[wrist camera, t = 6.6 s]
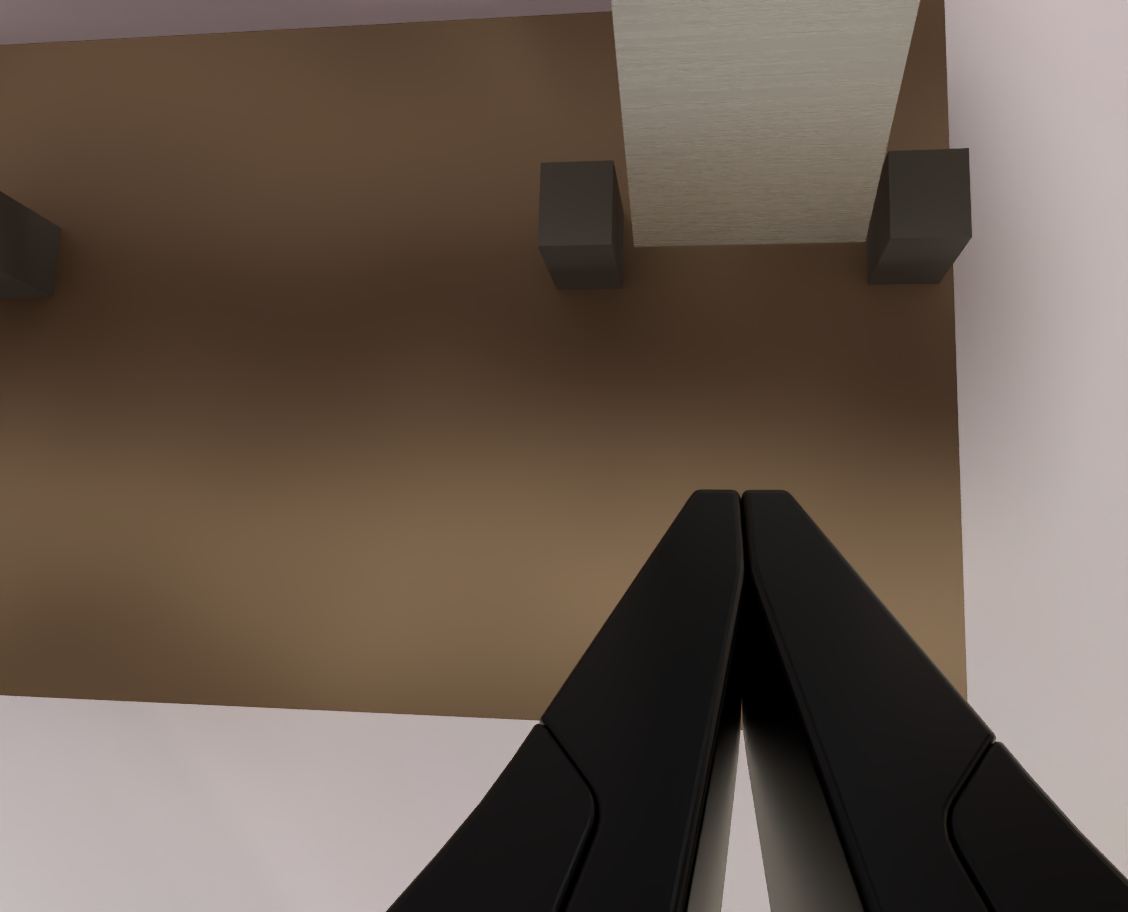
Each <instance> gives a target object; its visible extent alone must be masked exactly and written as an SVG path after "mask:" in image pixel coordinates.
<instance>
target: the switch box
mask: <svg viewBox="0 0 1128 912" xmlns="http://www.w3.org/2000/svg"><path fill="white" fill-rule="evenodd" d="M971 237H972V226H971V198H970V170H969V148H962V149H949V129H948V99H947V68H946V37H945V7H944V0H920V3H919V7H918V12H917V16H916V21H915V25H914V29H913V34H912V38H911V43H910V47H909V51H908V56H907V60H906V65H905V69H904V73H903V78H902V82H901V87H900V91H899V95H898V100H897V104H896V109H895V113H894V117H893V122H892V126H891V131H890V135H889V139H888V144H887V148H886V153H885V157H884V161H883V166H882V170H881V175H880V179H879V183H878V188H877V192H876V197H875V201H874V206H873V210H872V214H871V219H870V223H869V228H868V232H867V236H866V241H865V242H847V243H800V244H752V245H705V246H658V247H634V241H633V230H632V219H631V209H630V198H629V187H628V177H627V166H626V155H625V144H624V134H623V123H622V112H621V102H620V91H619V80H618V70H617V59H616V48H615V37H614V27H613V16H612V12H595V13H577V14H559V15H541V16H522V17H504V18H486V19H468V20H450V21H431V22H413V23H395V24H377V25H359V26H340V27H322V28H304V29H286V30H268V31H249V32H231V33H213V34H195V35H177V36H158V37H140V38H122V39H104V40H86V41H67V42H49V43H31V44H13V45H0V695H9V696H30V697H51V698H73V699H94V700H115V701H137V702H158V703H179V704H201V705H222V706H244V707H265V708H286V709H308V710H329V711H350V712H372V713H393V714H414V715H436V716H457V717H478V718H500V719H521V720H540V718H541V716H542V715H543V713H544V712H545V710H546V709H547V707H548V706H549V704H550V703H551V701H552V700H553V698H554V697H555V695H556V694H557V692H558V691H559V689H560V688H561V687H562V685H563V684H564V682H565V681H566V679H567V678H568V676H569V675H570V673H571V672H572V670H573V669H574V667H575V666H576V664H577V663H578V661H579V660H580V658H581V657H582V655H583V654H584V653H585V651H586V650H587V648H588V647H589V645H590V644H591V642H592V641H593V639H594V638H595V636H596V635H597V633H598V632H599V630H600V629H601V627H602V626H603V624H604V623H605V621H606V620H607V618H608V617H609V616H610V614H611V613H612V611H613V610H614V608H615V607H616V605H617V604H618V602H619V601H620V599H621V598H622V596H623V595H624V593H625V592H626V590H627V589H628V587H629V586H630V584H631V583H632V582H633V580H634V579H635V577H636V576H637V574H638V573H639V571H640V570H641V568H642V567H643V565H644V564H645V562H646V561H647V559H648V558H649V556H650V555H651V553H652V552H653V550H654V549H655V548H656V546H657V545H658V543H659V542H660V540H661V539H662V537H663V536H664V534H665V533H666V531H667V530H668V528H669V527H670V525H671V524H672V522H673V521H674V519H675V518H676V516H677V515H678V513H679V512H680V511H681V509H682V508H683V506H684V505H685V503H686V502H687V500H688V499H689V497H690V496H691V495H692V493H693V492H694V491H696V490H700V489H727V490H735V491H737V492H738V493H739V494H740V497H741V496H742V494H743V492H745V491H746V490H785V491H787V492H789V493H790V494H791V495H792V496H793V497H794V498H795V500H796V501H797V502H798V503H799V504H800V505H801V507H802V508H803V509H804V510H805V511H806V512H807V514H808V515H809V516H810V517H811V518H812V520H813V521H814V522H815V523H816V524H817V525H818V527H819V528H820V529H821V530H822V531H823V533H824V534H825V535H826V536H827V537H828V538H829V540H830V541H831V542H832V543H833V544H834V545H835V547H836V548H837V549H838V550H839V551H840V553H841V554H842V555H843V556H844V557H845V558H846V560H847V561H848V562H849V563H850V564H851V566H852V567H853V568H854V569H855V570H856V571H857V573H858V574H859V575H860V576H861V577H862V578H863V580H864V581H865V582H866V583H867V584H868V586H869V587H870V588H871V589H872V590H873V591H874V593H875V594H876V595H877V596H878V597H879V599H880V600H881V601H882V602H883V603H884V604H885V606H886V607H887V608H888V609H889V610H890V611H891V613H892V614H893V615H894V616H895V617H896V619H897V620H898V621H899V622H900V623H901V624H902V626H903V627H904V628H905V629H906V630H907V632H908V633H909V634H910V635H911V636H912V637H913V639H914V640H915V641H916V642H917V643H918V645H919V646H920V647H921V648H922V649H923V650H924V652H925V653H926V654H927V655H928V656H929V657H930V659H931V660H932V661H933V662H934V663H935V665H936V666H937V667H938V668H939V669H940V670H941V672H942V673H943V674H944V675H945V676H946V678H947V679H948V680H949V681H950V682H951V683H952V685H953V686H954V687H955V688H956V689H957V690H958V692H959V693H960V694H961V695H962V696H963V698H964V699H965V700H966V701H967V679H966V648H965V618H964V587H963V556H962V526H961V495H960V465H959V434H958V404H957V373H956V343H955V312H954V282H953V263H954V262H955V260H956V259H957V257H958V256H959V255H960V253H961V252H962V250H963V249H964V247H965V246H966V244H967V243H968V242H969V240H970V239H971ZM740 730H743V722H742V705H741V729H740Z"/></svg>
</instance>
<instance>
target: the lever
mask: <svg viewBox="0 0 1128 912" xmlns="http://www.w3.org/2000/svg"><path fill="white" fill-rule="evenodd" d="M919 3H920V0H611V5H612V16H613V27H614V37H615V48H616V59H617V70H618V80H619V91H620V102H621V112H622V123H623V134H624V144H625V155H626V166H627V177H628V187H629V198H630V209H631V219H632V230H633V241H634V247H658V246H705V245H752V244H800V243H847V242H865V241H866V236H867V232H868V228H869V223H870V219H871V214H872V210H873V206H874V201H875V197H876V192H877V188H878V183H879V179H880V175H881V170H882V166H883V161H884V157H885V153H886V148H887V144H888V139H889V135H890V131H891V126H892V122H893V117H894V113H895V109H896V104H897V100H898V95H899V91H900V87H901V82H902V78H903V73H904V69H905V65H906V60H907V56H908V51H909V47H910V43H911V38H912V34H913V29H914V25H915V21H916V16H917V12H918V7H919Z"/></svg>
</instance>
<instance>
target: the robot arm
mask: <svg viewBox="0 0 1128 912" xmlns="http://www.w3.org/2000/svg"><path fill="white" fill-rule="evenodd" d="M741 705H742V722H743V733H744V741H745V749H746V756H747V762H748V769H749V775H750V781H751V788H752V794H753V801H754V807H755V813H756V820H757V826H758V832H759V839H760V845H761V851H762V858H763V864H764V870H765V877H766V883H767V889H768V896H769V902H770V909H771V912H1128V879H1127V878H1126V877H1125V876H1124V875H1123V874H1122V873H1121V872H1120V871H1119V870H1118V869H1117V868H1116V867H1115V866H1114V865H1113V864H1112V863H1111V862H1110V861H1109V860H1108V859H1107V858H1106V857H1105V856H1104V855H1103V854H1102V853H1101V852H1100V851H1099V850H1098V849H1097V848H1096V847H1095V846H1094V845H1093V844H1092V843H1091V842H1090V841H1089V840H1088V839H1087V838H1086V837H1085V836H1084V835H1083V834H1082V833H1081V832H1080V831H1079V830H1078V828H1077V827H1076V826H1075V825H1074V824H1073V823H1072V822H1071V821H1070V820H1069V818H1068V817H1067V816H1066V815H1065V814H1064V813H1063V812H1062V811H1061V810H1060V808H1059V807H1058V806H1057V805H1056V804H1055V803H1054V802H1053V801H1052V800H1051V798H1050V797H1049V796H1048V795H1047V794H1046V793H1045V792H1044V791H1043V789H1042V788H1041V787H1040V786H1039V785H1038V784H1037V783H1036V782H1035V781H1034V779H1033V778H1032V777H1031V776H1030V775H1029V774H1028V773H1027V771H1026V770H1025V769H1024V768H1023V767H1022V765H1021V764H1020V763H1019V762H1018V761H1017V760H1016V758H1015V757H1014V756H1013V755H1012V754H1011V752H1010V751H1009V750H1008V749H1007V748H1006V746H1005V745H1004V744H1003V743H1001V742H995V741H996V736H995V734H994V733H993V732H992V731H991V729H990V728H989V727H988V726H987V725H986V723H985V722H984V721H983V720H982V719H981V718H980V716H979V715H978V714H977V713H976V712H975V711H974V709H973V708H972V707H971V706H970V705H969V703H968V702H967V701H966V700H965V699H964V698H963V696H962V695H961V694H960V693H959V692H958V690H957V689H956V688H955V687H954V686H953V685H952V683H951V682H950V681H949V680H948V679H947V678H946V676H945V675H944V674H943V673H942V672H941V670H940V669H939V668H938V667H937V666H936V665H935V663H934V662H933V661H932V660H931V659H930V657H929V656H928V655H927V654H926V653H925V652H924V650H923V649H922V648H921V647H920V646H919V645H918V643H917V642H916V641H915V640H914V639H913V637H912V636H911V635H910V634H909V633H908V632H907V630H906V629H905V628H904V627H903V626H902V624H901V623H900V622H899V621H898V620H897V619H896V617H895V616H894V615H893V614H892V613H891V611H890V610H889V609H888V608H887V607H886V606H885V604H884V603H883V602H882V601H881V600H880V599H879V597H878V596H877V595H876V594H875V593H874V591H873V590H872V589H871V588H870V587H869V586H868V584H867V583H866V582H865V581H864V580H863V578H862V577H861V576H860V575H859V574H858V573H857V571H856V570H855V569H854V568H853V567H852V566H851V564H850V563H849V562H848V561H847V560H846V558H845V557H844V556H843V555H842V554H841V553H840V551H839V550H838V549H837V548H836V547H835V545H834V544H833V543H832V542H831V541H830V540H829V538H828V537H827V536H826V535H825V534H824V533H823V531H822V530H821V529H820V528H819V527H818V525H817V524H816V523H815V522H814V521H813V520H812V518H811V517H810V516H809V515H808V514H807V512H806V511H805V510H804V509H803V508H802V507H801V505H800V504H799V503H798V502H797V501H796V500H795V498H794V497H793V496H792V495H791V494H790V493H789V492H787V491H785V490H746V491H745V492H743V494H742V496H741V497H740V494H739V493H738V492H737V491H735V490H727V489H700V490H696V491H694V492H693V493H692V495H691V496H690V497H689V499H688V500H687V502H686V503H685V505H684V506H683V508H682V509H681V511H680V512H679V513H678V515H677V516H676V518H675V519H674V521H673V522H672V524H671V525H670V527H669V528H668V530H667V531H666V533H665V534H664V536H663V537H662V539H661V540H660V542H659V543H658V545H657V546H656V548H655V549H654V550H653V552H652V553H651V555H650V556H649V558H648V559H647V561H646V562H645V564H644V565H643V567H642V568H641V570H640V571H639V573H638V574H637V576H636V577H635V579H634V580H633V582H632V583H631V584H630V586H629V587H628V589H627V590H626V592H625V593H624V595H623V596H622V598H621V599H620V601H619V602H618V604H617V605H616V607H615V608H614V610H613V611H612V613H611V614H610V616H609V617H608V618H607V620H606V621H605V623H604V624H603V626H602V627H601V629H600V630H599V632H598V633H597V635H596V636H595V638H594V639H593V641H592V642H591V644H590V645H589V647H588V648H587V650H586V651H585V653H584V654H583V655H582V657H581V658H580V660H579V661H578V663H577V664H576V666H575V667H574V669H573V670H572V672H571V673H570V675H569V676H568V678H567V679H566V681H565V682H564V684H563V685H562V687H561V688H560V689H559V691H558V692H557V694H556V695H555V697H554V698H553V700H552V701H551V703H550V704H549V706H548V707H547V709H546V710H545V712H544V713H543V715H542V716H541V718H540V724H536V725H535V726H534V727H533V729H532V730H531V732H530V733H529V735H528V736H527V738H526V739H525V741H524V742H523V744H522V745H521V746H520V748H519V749H518V751H517V752H516V754H515V755H514V757H513V758H512V760H511V761H510V762H509V764H508V765H507V766H506V768H505V769H504V771H503V772H502V773H501V775H500V776H499V777H498V779H497V780H496V782H495V783H494V784H493V786H492V787H491V788H490V790H489V791H488V792H487V794H486V795H485V797H484V798H483V799H482V801H481V802H480V803H479V805H478V806H477V807H476V808H475V809H474V811H473V812H472V813H471V814H470V815H469V816H468V818H467V819H466V820H465V821H464V822H463V824H462V825H461V826H460V827H459V828H458V830H457V831H456V832H455V833H454V834H453V836H452V837H451V838H450V839H449V840H448V841H447V843H446V844H445V845H444V846H443V847H442V849H441V850H440V851H439V852H438V853H437V855H436V856H435V857H434V858H433V859H432V860H431V861H430V862H429V864H428V865H427V866H426V867H425V868H424V869H423V870H422V871H421V873H420V874H419V875H418V876H417V877H416V878H415V879H414V880H413V882H412V883H411V884H410V885H409V886H408V887H407V888H406V889H405V891H404V892H403V893H402V894H401V895H400V896H399V897H398V898H397V900H396V901H395V902H394V903H393V904H392V905H391V906H390V908H389V909H388V910H387V911H386V912H721V907H722V898H723V889H724V880H725V871H726V862H727V853H728V844H729V835H730V826H731V817H732V808H733V799H734V790H735V781H736V772H737V763H738V754H739V742H740V729H741Z"/></svg>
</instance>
